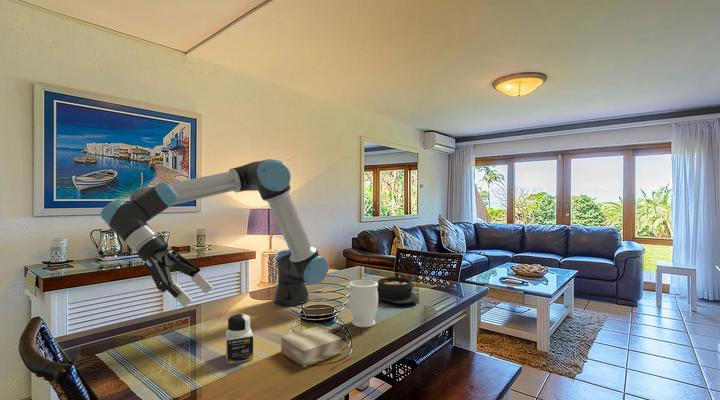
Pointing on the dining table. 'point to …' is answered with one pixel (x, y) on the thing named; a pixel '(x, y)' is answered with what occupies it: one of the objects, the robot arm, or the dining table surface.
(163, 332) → the dining table surface
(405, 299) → the casserole
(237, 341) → the medicine bottle
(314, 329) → the birch block
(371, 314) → the jar
